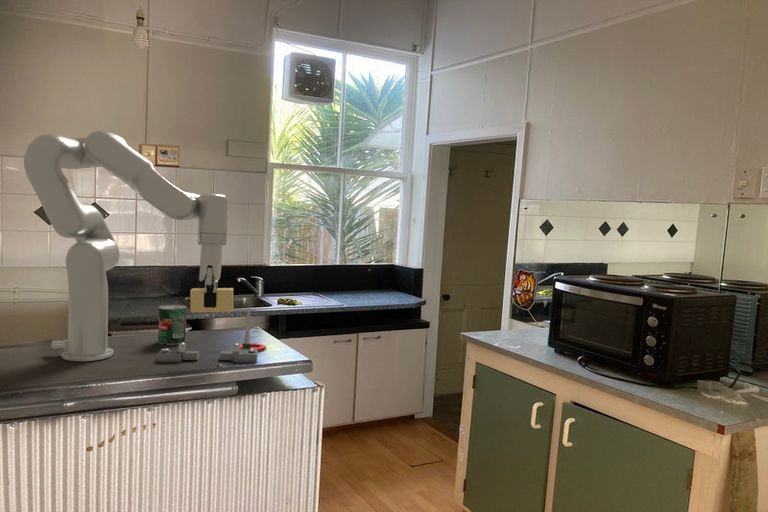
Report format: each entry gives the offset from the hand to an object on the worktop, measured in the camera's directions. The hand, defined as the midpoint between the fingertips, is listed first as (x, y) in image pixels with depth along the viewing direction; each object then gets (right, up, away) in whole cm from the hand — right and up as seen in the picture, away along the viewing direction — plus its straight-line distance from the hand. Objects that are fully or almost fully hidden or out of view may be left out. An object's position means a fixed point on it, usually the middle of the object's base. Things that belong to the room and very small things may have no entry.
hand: (210, 305), depth 160 cm
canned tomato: (-17, -13, +18) cm, 28 cm away
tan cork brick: (0, -2, 0) cm, 2 cm away
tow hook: (+8, -15, +15) cm, 22 cm away
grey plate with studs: (-1, -15, +1) cm, 15 cm away
